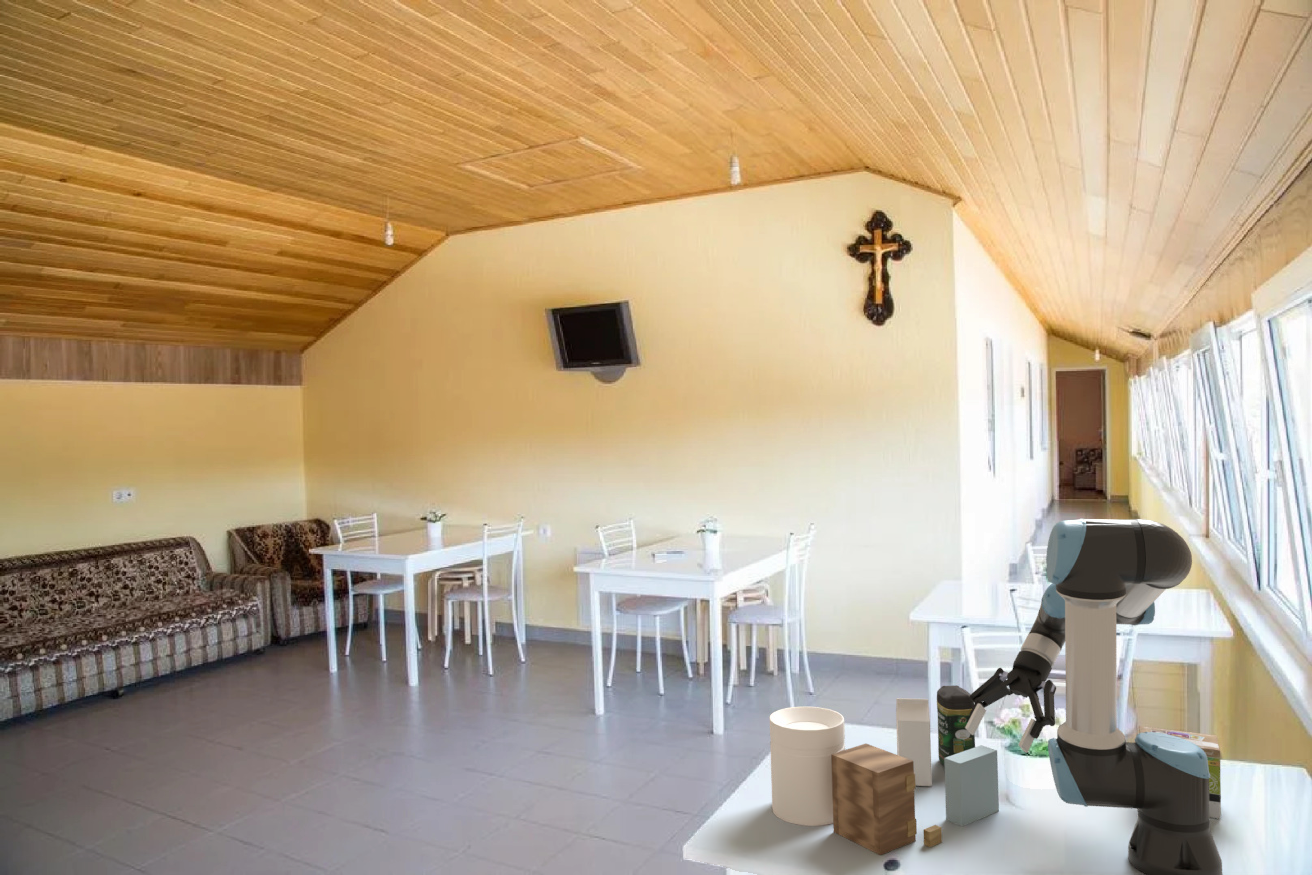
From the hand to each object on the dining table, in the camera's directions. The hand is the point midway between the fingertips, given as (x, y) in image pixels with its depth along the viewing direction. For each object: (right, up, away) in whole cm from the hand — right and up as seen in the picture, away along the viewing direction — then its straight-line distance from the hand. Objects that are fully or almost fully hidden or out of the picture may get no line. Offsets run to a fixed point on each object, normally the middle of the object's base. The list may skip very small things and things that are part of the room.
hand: (995, 740), depth 200 cm
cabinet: (-27, -15, -14) cm, 34 cm away
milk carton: (-13, -14, +14) cm, 24 cm away
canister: (-40, -15, 0) cm, 43 cm away
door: (-7, -14, -5) cm, 16 cm away
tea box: (+38, -13, -4) cm, 40 cm away
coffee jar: (-1, -14, +22) cm, 26 cm away
